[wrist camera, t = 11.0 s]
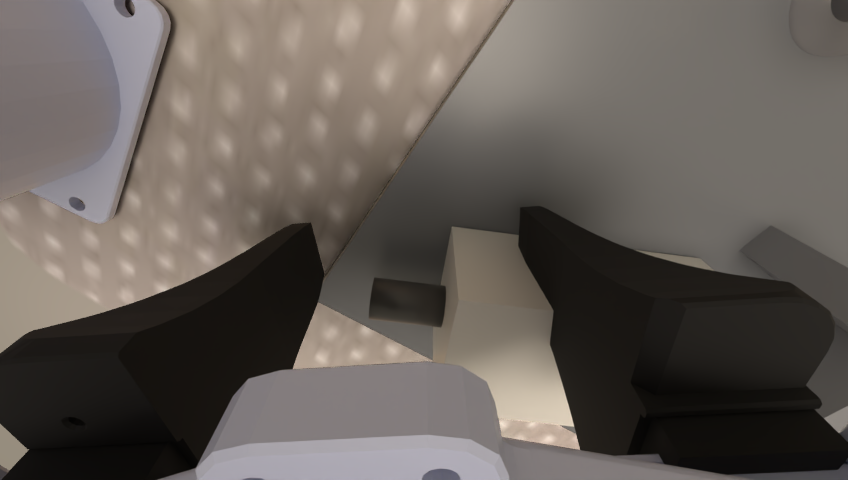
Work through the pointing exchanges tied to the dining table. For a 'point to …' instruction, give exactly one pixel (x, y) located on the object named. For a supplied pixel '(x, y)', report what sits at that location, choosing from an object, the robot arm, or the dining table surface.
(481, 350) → the plug
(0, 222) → the dining table surface
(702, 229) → the socket
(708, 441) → the robot arm
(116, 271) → the dining table surface
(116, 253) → the dining table surface
